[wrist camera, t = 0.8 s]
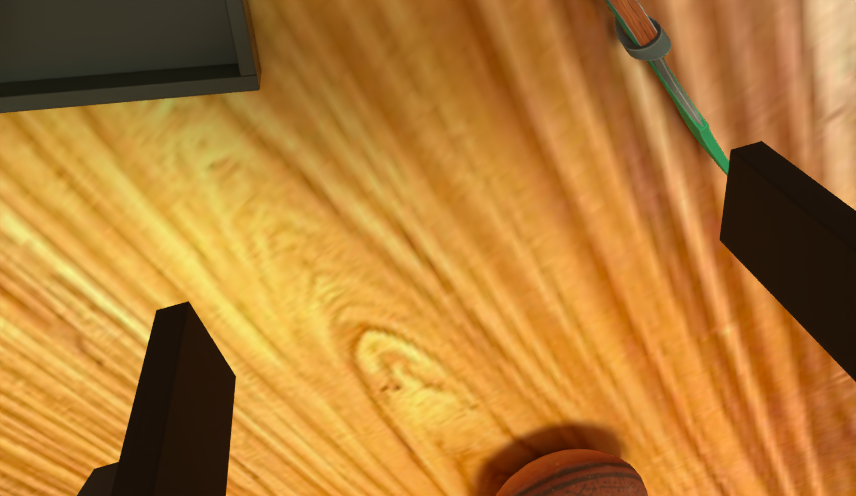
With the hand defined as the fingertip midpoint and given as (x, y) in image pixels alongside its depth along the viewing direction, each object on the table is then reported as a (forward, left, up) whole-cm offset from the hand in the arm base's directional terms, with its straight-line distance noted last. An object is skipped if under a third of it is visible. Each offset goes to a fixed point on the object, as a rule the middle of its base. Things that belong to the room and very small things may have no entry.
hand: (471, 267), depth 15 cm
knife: (+4, +16, -22) cm, 28 cm away
